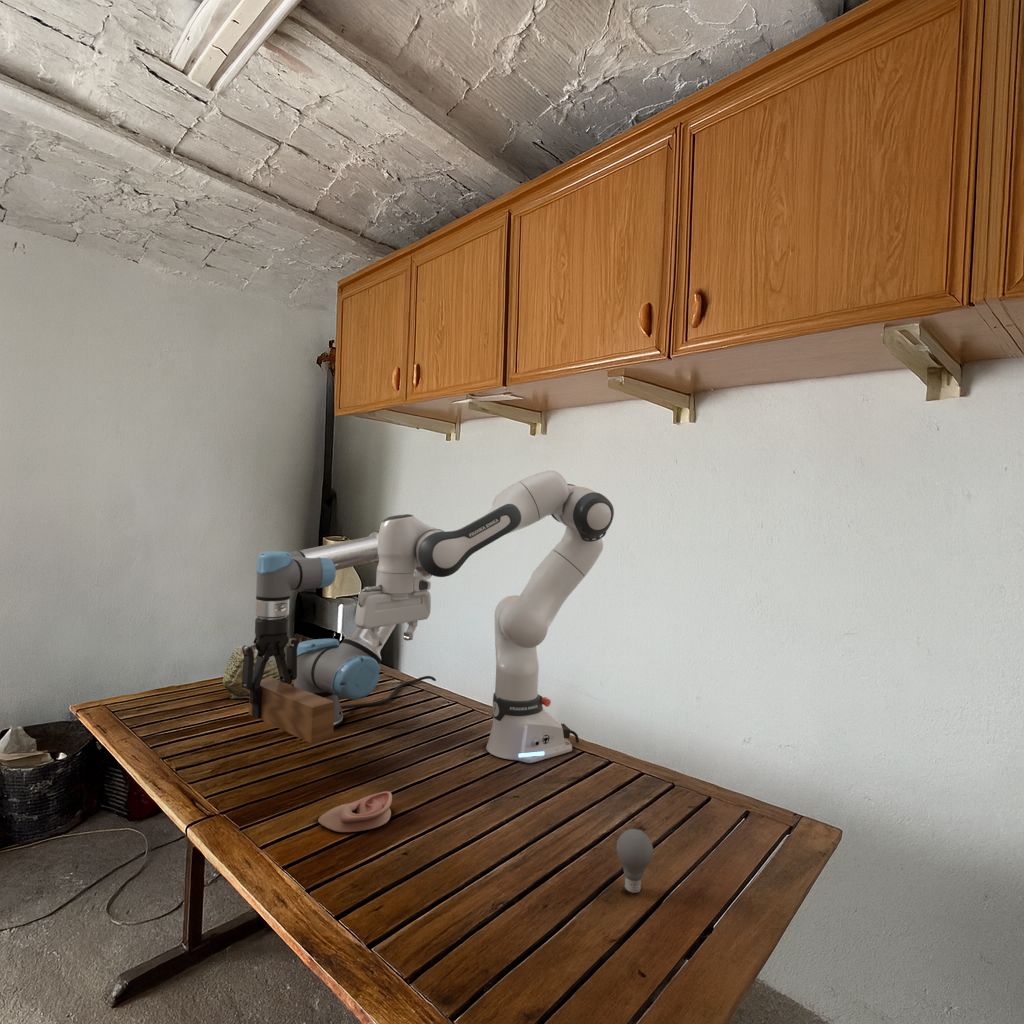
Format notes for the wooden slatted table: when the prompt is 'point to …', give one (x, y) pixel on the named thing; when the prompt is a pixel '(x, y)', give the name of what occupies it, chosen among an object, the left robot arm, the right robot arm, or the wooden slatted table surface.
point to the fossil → (235, 670)
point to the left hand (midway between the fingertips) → (268, 713)
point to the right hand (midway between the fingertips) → (393, 642)
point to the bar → (296, 710)
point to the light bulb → (634, 857)
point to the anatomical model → (359, 814)
